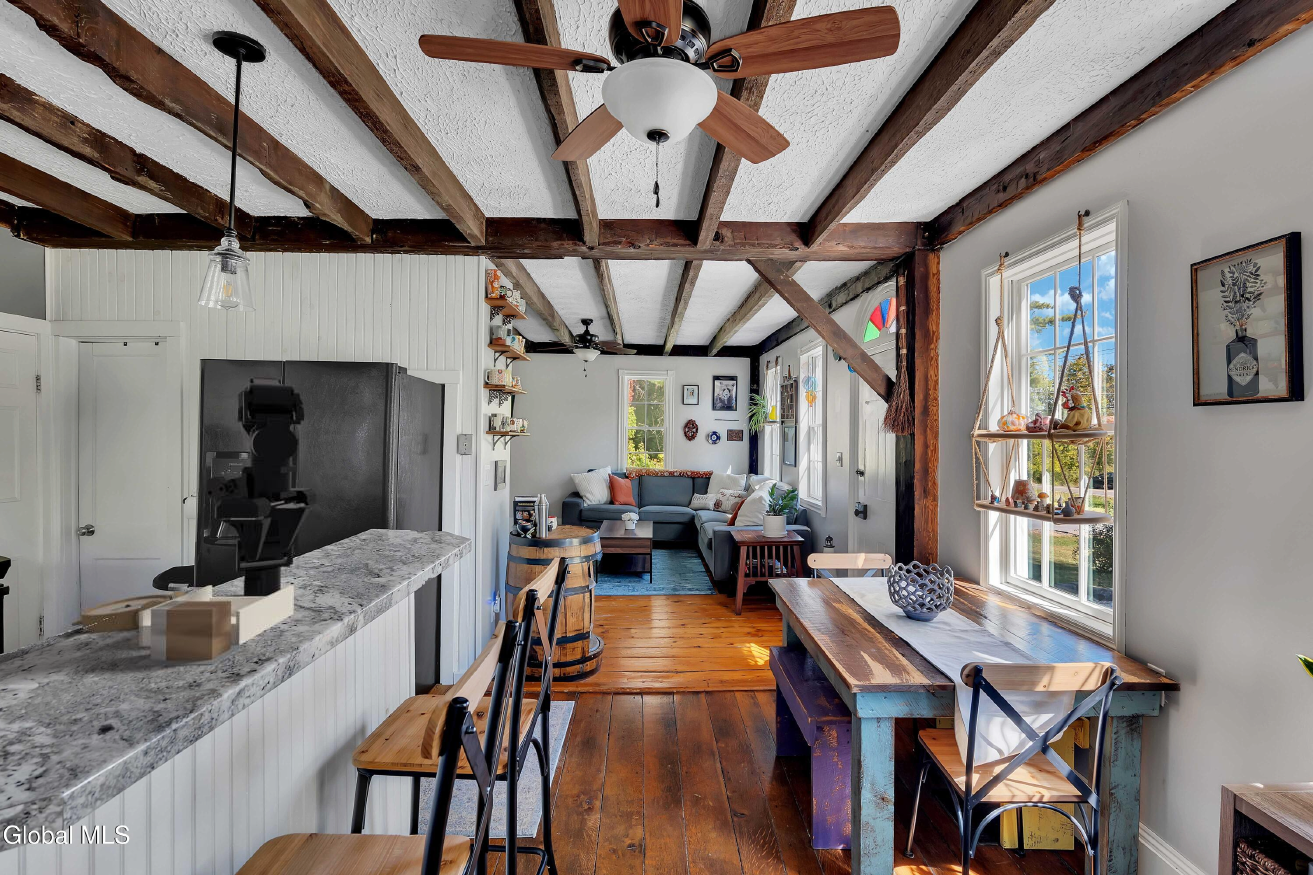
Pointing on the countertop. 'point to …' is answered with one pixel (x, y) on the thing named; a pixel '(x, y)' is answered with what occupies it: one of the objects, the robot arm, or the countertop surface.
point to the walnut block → (190, 630)
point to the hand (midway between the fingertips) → (269, 554)
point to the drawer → (235, 613)
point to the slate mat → (188, 662)
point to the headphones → (121, 613)
